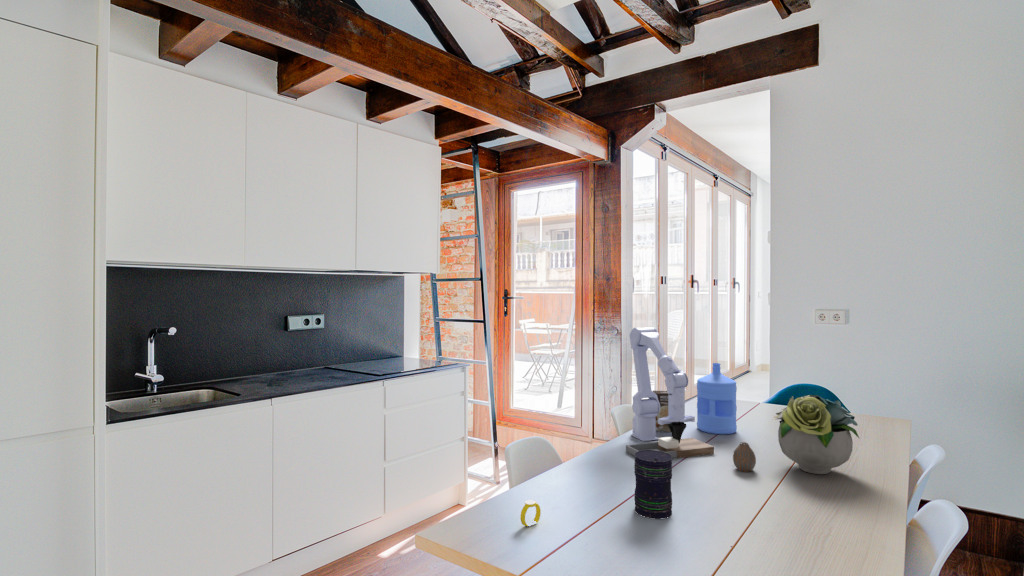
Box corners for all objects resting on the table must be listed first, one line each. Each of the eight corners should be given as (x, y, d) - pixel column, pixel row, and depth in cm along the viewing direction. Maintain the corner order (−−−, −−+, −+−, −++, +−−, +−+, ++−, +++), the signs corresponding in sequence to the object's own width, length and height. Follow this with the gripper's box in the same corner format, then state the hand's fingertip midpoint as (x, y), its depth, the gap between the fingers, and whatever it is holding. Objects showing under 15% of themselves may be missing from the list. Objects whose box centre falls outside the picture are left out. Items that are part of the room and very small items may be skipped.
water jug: (702, 423, 232) (702, 360, 232) (740, 428, 223) (740, 363, 223) (692, 431, 220) (692, 364, 220) (731, 437, 210) (731, 367, 211)
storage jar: (631, 503, 146) (631, 449, 146) (666, 503, 145) (666, 450, 145) (638, 519, 136) (638, 461, 136) (676, 519, 135) (676, 461, 135)
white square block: (658, 444, 192) (658, 438, 192) (669, 443, 193) (669, 436, 193) (666, 448, 187) (666, 441, 187) (678, 447, 189) (678, 440, 189)
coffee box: (654, 431, 219) (654, 393, 219) (651, 427, 225) (651, 390, 225) (677, 432, 218) (676, 393, 218) (673, 428, 224) (673, 390, 224)
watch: (526, 531, 130) (525, 508, 129) (518, 528, 132) (517, 504, 131) (543, 522, 134) (542, 499, 133) (535, 519, 136) (534, 496, 135)
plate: (656, 448, 196) (656, 441, 196) (692, 444, 201) (692, 437, 201) (676, 458, 184) (676, 451, 184) (713, 453, 189) (713, 446, 189)
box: (626, 451, 191) (626, 445, 191) (656, 448, 196) (656, 441, 196) (644, 462, 180) (644, 455, 180) (676, 458, 184) (676, 451, 184)
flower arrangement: (777, 453, 189) (777, 386, 189) (861, 467, 175) (860, 394, 175) (765, 473, 169) (765, 397, 169) (858, 490, 154) (857, 408, 154)
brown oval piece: (758, 469, 173) (758, 442, 173) (751, 475, 168) (751, 447, 168) (737, 464, 178) (737, 438, 178) (729, 470, 172) (729, 443, 173)
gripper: (666, 409, 185) (666, 447, 185) (700, 406, 190) (700, 443, 190) (654, 405, 192) (654, 442, 192) (687, 402, 197) (687, 438, 197)
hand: (676, 442), depth 191 cm, fingers closed
